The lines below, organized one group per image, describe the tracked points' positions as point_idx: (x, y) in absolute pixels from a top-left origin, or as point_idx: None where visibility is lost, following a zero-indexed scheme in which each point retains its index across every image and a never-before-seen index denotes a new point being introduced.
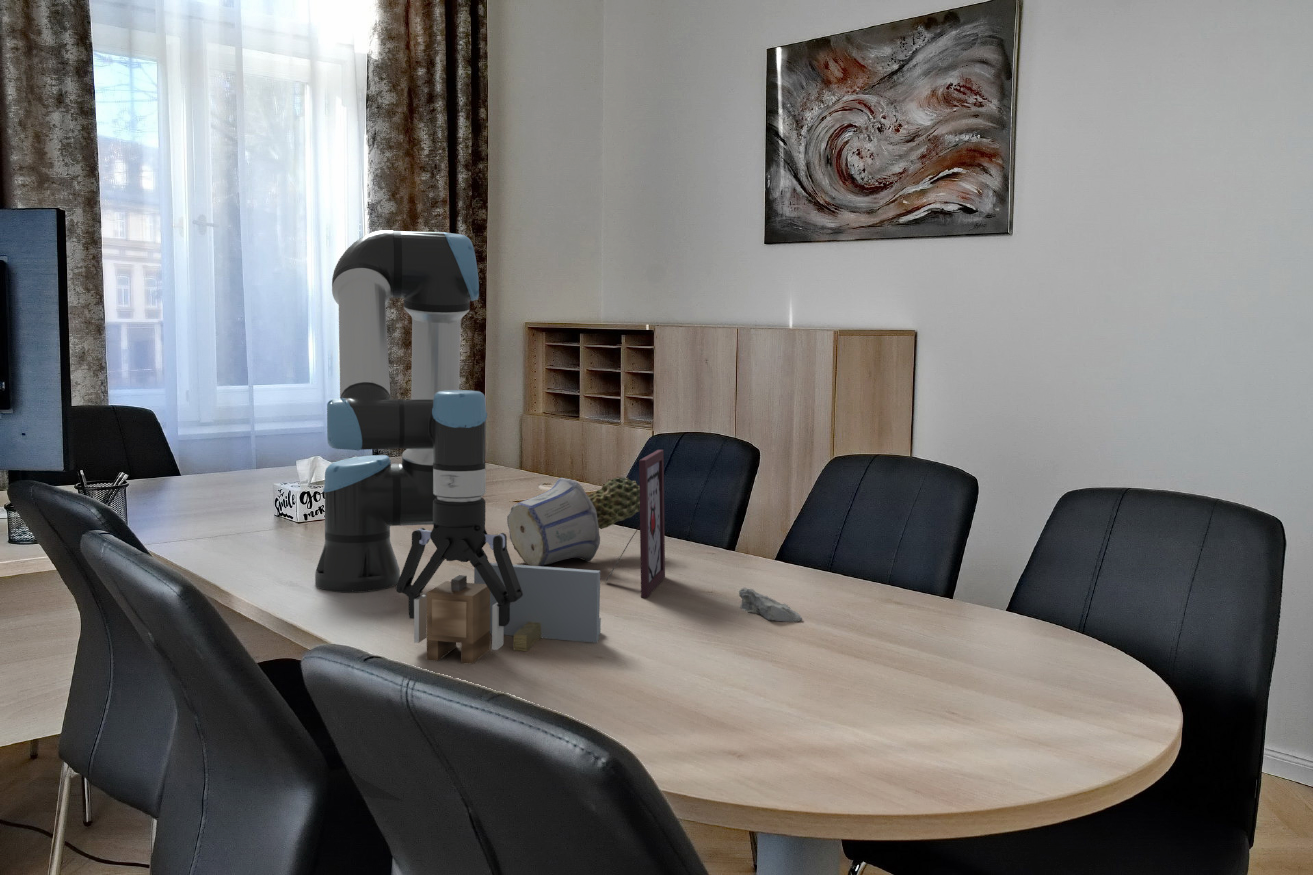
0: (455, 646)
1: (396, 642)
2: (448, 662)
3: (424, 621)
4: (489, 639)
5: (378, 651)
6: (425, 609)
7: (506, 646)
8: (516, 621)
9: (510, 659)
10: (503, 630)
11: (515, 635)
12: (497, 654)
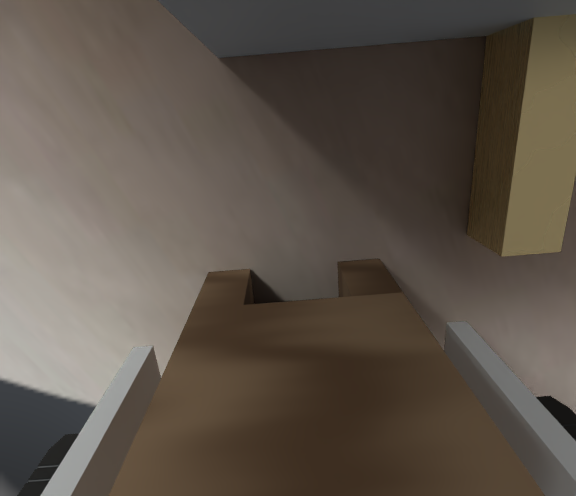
0: (250, 277)
1: (21, 294)
2: None
3: (130, 415)
4: (390, 277)
5: (43, 388)
6: (102, 452)
7: (426, 198)
8: (459, 23)
9: (479, 322)
10: (497, 355)
11: (508, 255)
12: (422, 292)
